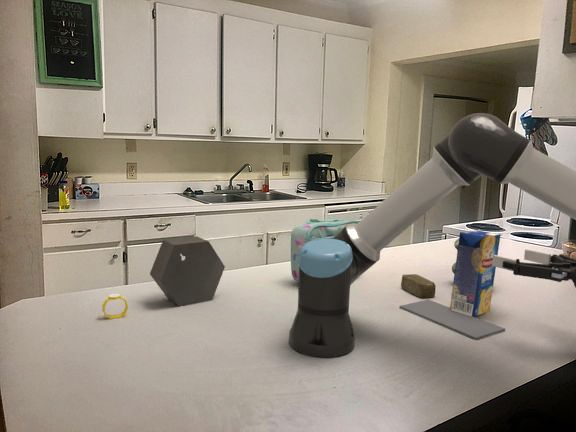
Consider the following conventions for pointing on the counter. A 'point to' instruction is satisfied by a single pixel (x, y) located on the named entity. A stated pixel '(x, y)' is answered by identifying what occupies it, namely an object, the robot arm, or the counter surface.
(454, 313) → the mat
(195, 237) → the planter
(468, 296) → the beverage box
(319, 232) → the lunch box
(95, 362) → the counter surface
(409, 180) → the robot arm
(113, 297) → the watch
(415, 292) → the stone block
